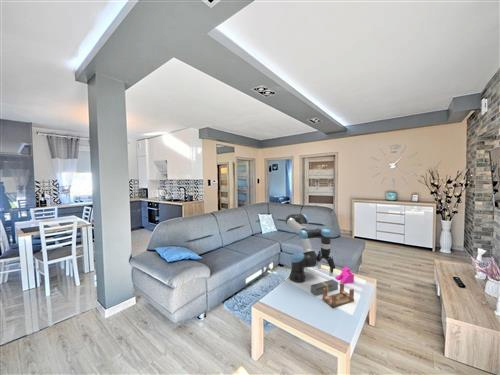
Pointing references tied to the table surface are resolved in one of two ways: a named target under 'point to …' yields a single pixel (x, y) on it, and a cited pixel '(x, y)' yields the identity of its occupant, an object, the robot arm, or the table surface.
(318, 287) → the grey metal bar
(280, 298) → the table surface
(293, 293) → the table surface
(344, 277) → the bracket
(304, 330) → the table surface
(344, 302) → the stove stand
